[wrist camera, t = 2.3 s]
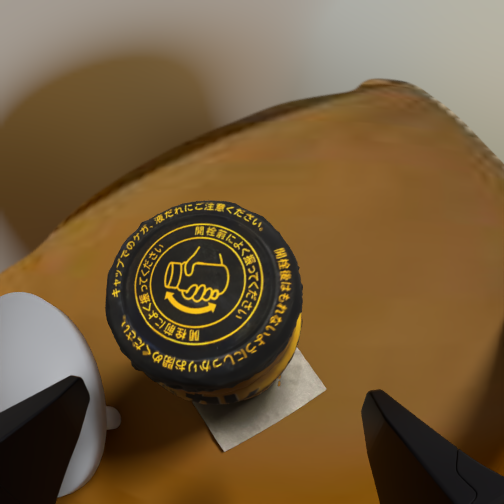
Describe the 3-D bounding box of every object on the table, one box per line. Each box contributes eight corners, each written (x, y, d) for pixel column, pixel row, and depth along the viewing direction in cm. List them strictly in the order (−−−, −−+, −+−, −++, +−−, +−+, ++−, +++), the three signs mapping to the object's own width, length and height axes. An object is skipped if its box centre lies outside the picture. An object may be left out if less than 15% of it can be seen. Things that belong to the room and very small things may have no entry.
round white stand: (55, 511, 11) (21, 522, 7) (-20, 373, 16) (-54, 361, 12) (170, 427, 15) (143, 435, 11) (65, 279, 20) (33, 253, 16)
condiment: (252, 284, 20) (244, 144, 9) (326, 389, 16) (430, 368, 6) (158, 338, 18) (45, 252, 7) (224, 451, 15) (166, 531, 4)
